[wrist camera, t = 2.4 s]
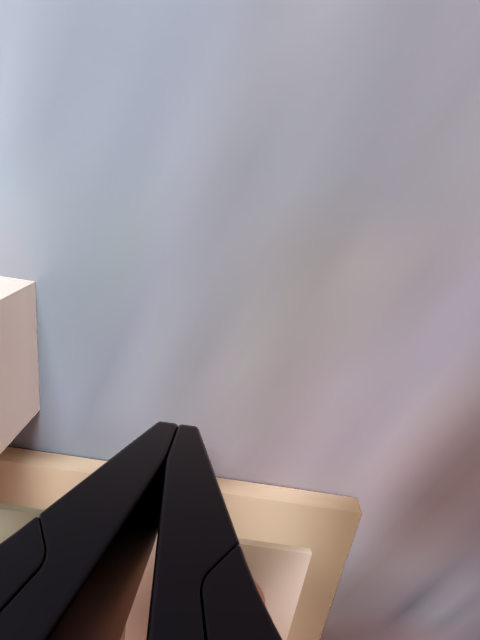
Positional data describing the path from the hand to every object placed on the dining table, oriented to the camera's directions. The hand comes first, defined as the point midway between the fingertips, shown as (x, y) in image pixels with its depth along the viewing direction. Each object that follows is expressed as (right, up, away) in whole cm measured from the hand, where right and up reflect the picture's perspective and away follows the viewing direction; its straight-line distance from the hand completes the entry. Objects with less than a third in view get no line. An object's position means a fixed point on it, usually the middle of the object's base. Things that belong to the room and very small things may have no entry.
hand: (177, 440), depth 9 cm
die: (-6, +2, +3) cm, 7 cm away
